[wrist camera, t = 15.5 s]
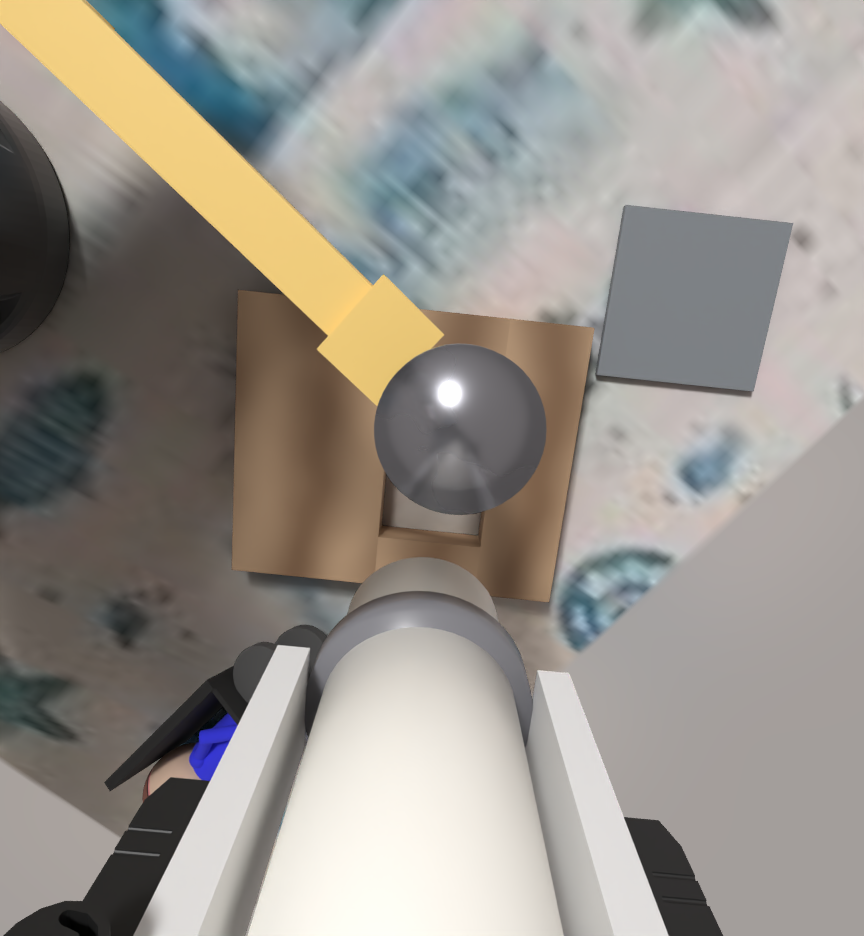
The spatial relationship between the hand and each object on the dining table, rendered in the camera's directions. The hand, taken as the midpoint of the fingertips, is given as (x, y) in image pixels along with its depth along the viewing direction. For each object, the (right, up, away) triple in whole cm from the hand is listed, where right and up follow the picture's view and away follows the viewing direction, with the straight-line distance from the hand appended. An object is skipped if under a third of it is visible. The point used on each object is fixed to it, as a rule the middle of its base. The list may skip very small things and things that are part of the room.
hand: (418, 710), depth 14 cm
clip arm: (-5, +13, +3) cm, 14 cm away
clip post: (+1, +11, +18) cm, 21 cm away
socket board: (-1, +7, +20) cm, 22 cm away
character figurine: (-12, -9, +25) cm, 29 cm away
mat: (+15, +15, +18) cm, 28 cm away
